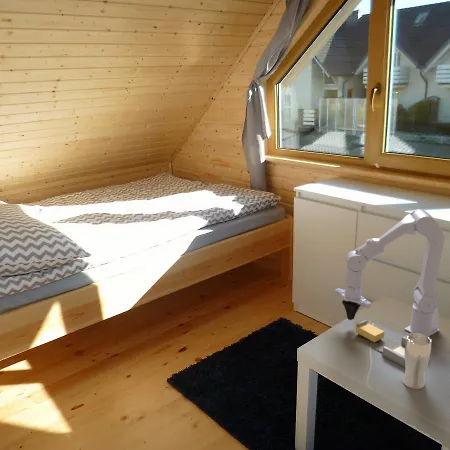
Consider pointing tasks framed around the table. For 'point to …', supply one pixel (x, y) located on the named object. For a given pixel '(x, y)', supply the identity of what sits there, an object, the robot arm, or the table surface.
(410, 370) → the beer glass
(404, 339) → the dock
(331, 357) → the table surface
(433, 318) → the robot arm
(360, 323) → the toy bed
